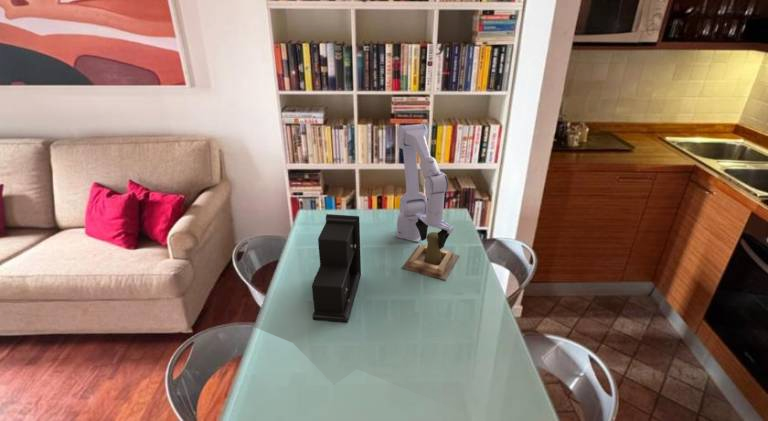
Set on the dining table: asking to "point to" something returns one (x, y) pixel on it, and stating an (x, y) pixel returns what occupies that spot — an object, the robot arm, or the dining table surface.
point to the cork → (433, 249)
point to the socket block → (436, 271)
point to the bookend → (337, 268)
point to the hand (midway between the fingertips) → (432, 243)
